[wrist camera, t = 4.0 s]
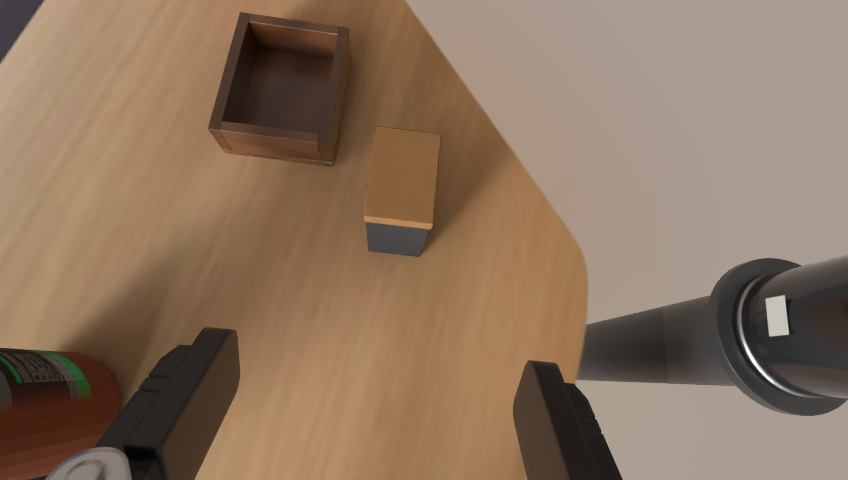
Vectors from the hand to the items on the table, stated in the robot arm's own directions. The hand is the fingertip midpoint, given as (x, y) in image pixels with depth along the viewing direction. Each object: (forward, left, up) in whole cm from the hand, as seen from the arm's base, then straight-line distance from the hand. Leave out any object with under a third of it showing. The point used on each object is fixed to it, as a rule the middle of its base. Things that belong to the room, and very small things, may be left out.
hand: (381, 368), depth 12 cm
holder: (+10, -21, -20) cm, 30 cm away
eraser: (0, -12, -20) cm, 23 cm away
